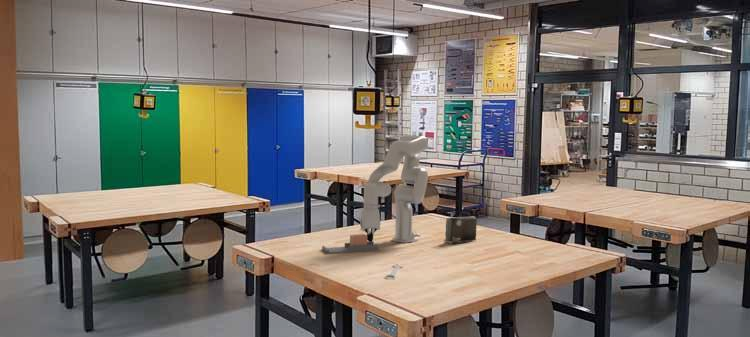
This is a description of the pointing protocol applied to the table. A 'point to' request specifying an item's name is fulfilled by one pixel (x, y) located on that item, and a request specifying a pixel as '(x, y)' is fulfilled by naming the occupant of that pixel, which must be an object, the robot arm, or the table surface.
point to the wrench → (393, 271)
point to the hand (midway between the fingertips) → (370, 241)
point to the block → (358, 239)
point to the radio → (460, 229)
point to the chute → (351, 248)
